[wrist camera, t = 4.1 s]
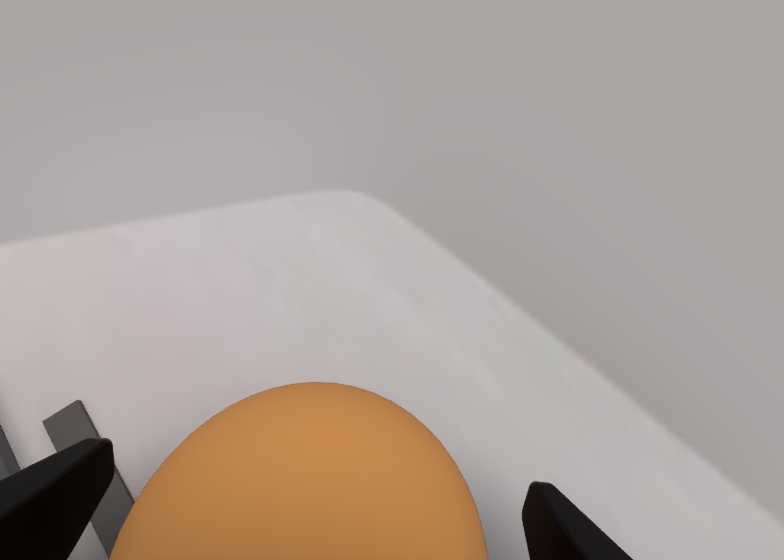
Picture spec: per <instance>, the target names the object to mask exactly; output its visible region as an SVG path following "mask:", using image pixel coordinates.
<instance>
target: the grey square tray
mask: <svg viewBox="0 0 784 560" xmlns="http://www.w3.org/2000/svg"><path fill="white" fill-rule="evenodd" d="M18 471H20V468H19V466H18V464H17V462H16V460H15V457H14V455H13V453H12V451H11V448H10V446H9V444H8V442H7V440H6V437H5V435H4V433H3V431H2V428H1V426H0V480H2V479H4V478H6V477H8V476H10V475H12V474H14V473H16V472H18Z"/></svg>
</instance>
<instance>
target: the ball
mask: <svg viewBox="0 0 784 560" xmlns="http://www.w3.org/2000/svg"><path fill="white" fill-rule="evenodd" d="M109 560H488V556H487V550H486V544H485V539H484V533H483V529H482V525H481V522H480V518H479V515H478V511H477V508H476V505H475V503H474V500H473V498H472V495H471V493H470V490H469V488H468V486H467V483H466V481H465V479H464V478H463V476H462V474H461V472H460V470H459V469H458V467H457V465H456V463H455V461H454V460H453V459H452V457H451V456H450V454H449V453H448V452H447V450H446V449H445V447H444V446H443V445H442V443H441V442H440V441H439V440H438V439H437V438H436V437H435V436H434V435H433V433H432V432H431V431H430V430H429V429H428V428H427V427H426V426H425V425H424V424H423V423H421V422H420V421H419V420H418V419H417V418H415V417H414V416H413V415H412V414H411V413H409V412H408V411H406V410H405V409H403V408H402V407H400V406H399V405H397V404H395V403H394V402H392V401H390V400H388V399H386V398H384V397H382V396H380V395H378V394H375V393H373V392H370V391H367V390H364V389H361V388H357V387H354V386H349V385H343V384H337V383H323V382H309V383H297V384H290V385H285V386H281V387H276V388H272V389H269V390H266V391H263V392H260V393H257V394H254V395H251V396H249V397H247V398H245V399H243V400H241V401H239V402H237V403H235V404H233V405H231V406H229V407H227V408H226V409H224V410H223V411H221V412H220V413H218V414H216V415H215V416H213V417H212V418H210V419H209V420H208V421H206V422H205V423H204V424H203V425H201V426H200V427H199V428H198V429H196V430H195V431H194V432H193V433H191V434H190V435H189V436H188V437H187V438H186V439H185V440H184V441H183V442H182V443H181V444H180V445H179V446H178V447H177V448H176V449H175V450H174V451H173V452H172V453H171V454H170V455H169V456H168V458H167V459H166V460H165V461H164V463H163V464H162V465H161V466H160V467H159V469H158V470H157V471H156V472H155V474H154V475H153V476H152V477H151V479H150V480H149V482H148V483H147V485H146V486H145V488H144V489H143V491H142V492H141V494H140V495H139V497H138V498H137V500H136V501H135V503H134V505H133V507H132V509H131V511H130V513H129V515H128V516H127V518H126V520H125V522H124V524H123V526H122V528H121V530H120V532H119V535H118V538H117V540H116V543H115V545H114V548H113V550H112V553H111V555H110V558H109Z"/></svg>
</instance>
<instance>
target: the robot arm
mask: <svg viewBox="0 0 784 560" xmlns="http://www.w3.org/2000/svg"><path fill="white" fill-rule="evenodd" d="M114 474H115V463H114V453H113V444H112V442H111V440H110V439H107V438H98V437H89V438H86V439H83V440H81V441H79V442H77V443H75V444H73V445H71V446H69V447H67V448H65V449H63V450H61V451H59V452H57V453H55V454H53V455H51V456H49V457H47V458H45V459H43V460H41V461H39V462H37V463H34V464H32V465H30V466H28V467H26V468H24V469H22V470H20V471H18V472H16V473H14V474H12V475H10V476H8V477H6V478H4V479H2V480H0V560H67V559H68V557H69V556H70V554H71V552H72V551H73V549H74V547H75V546H76V544H77V542H78V540H79V539H80V537H81V535H82V533H83V532H84V530H85V528H86V526H87V525H88V523H89V521H90V519H91V518H92V516H93V514H94V512H95V511H96V509H97V507H98V505H99V504H100V502H101V500H102V498H103V497H104V495H105V493H106V491H107V490H108V488H109V486H110V484H111V482H112V480H113V478H114ZM522 522H523V527H524V532H525V537H526V542H527V547H528V552H529V557H530V560H633V559H632V558H631V557H630V556H629V555H628V554H627V553H625V552H624V551H623V550H622V549H621V548H620V547H619V546H618V545H617V544H616V543H615V542H614V541H613V540H612V539H610V538H609V537H608V536H607V535H606V534H605V533H604V532H603V531H602V530H601V529H600V528H599V527H598V526H597V525H595V524H594V523H593V522H592V521H591V520H590V519H589V518H588V517H587V516H586V515H585V514H584V513H583V512H582V511H580V510H579V509H578V508H577V507H576V506H575V505H574V504H573V503H572V502H571V501H570V500H569V499H568V498H567V497H565V496H564V495H563V494H562V493H561V492H560V491H559V490H558V489H557V488H556V487H555V486H554V485H552V484H551V483H548V482H538V481H534V482H532V483H531V484H530V486H529V489H528V492H527V496H526V499H525V502H524V505H523V509H522Z"/></svg>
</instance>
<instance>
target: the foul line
mask: <svg viewBox="0 0 784 560" xmlns="http://www.w3.org/2000/svg"><path fill="white" fill-rule="evenodd" d="M42 422H43V424H44V426H45V428H46V431H47V433H48V435H49V437H50V439H51V441H52V443H53V445H54V447H55V449H56V451H57V452H59V451H61V450H63V449H65V448H67V447H69V446H71V445H73V444H75V443H77V442H79V441H81V440H83V439H86V438H89V437H98V438H100V437H99V435H98V433H97V431H96V429H95V427H94V425H93V423H92V422H91V420H90V418H89V416H88V414H87V412H86V410H85V408H84V407H83V405H82V403H81V401H79V400H76V401H75V402H73V403H71V404H70V405H68V406H67V407H65V408H63V409H62V410H60V411H59V412H57V413H55V414H54V415H52V416H50V417H49V418H47V419H46V420H44V421H42ZM133 505H134V501H133V499H132V497H131V495H130V493H129V491H128V489H127V488H126V486H125V484H124V482H123V480H122V478H121V476H120V474H119V473H118V471H117V469H116V467H115V474H114V478H113V480H112V482H111V484H110V486H109V488H108V490H107V491H106V493H105V495H104V497H103V498H102V500H101V502H100V504H99V505H98V507H97V509H96V511H95V512H94V514H93V516H92V518H91V519H90V521H91V523H92V525H93V527H94V529H95V531H96V533H97V535H98V537H99V539H100V541H101V543H102V545H103V547H104V549H105V551H106V553H107V555H108V558H110V555H111V553H112V550H113V548H114V545H115V543H116V540H117V538H118V535H119V532H120V530H121V528H122V526H123V524H124V522H125V520H126V518H127V516H128V515H129V513H130V511H131V509H132V507H133Z"/></svg>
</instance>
